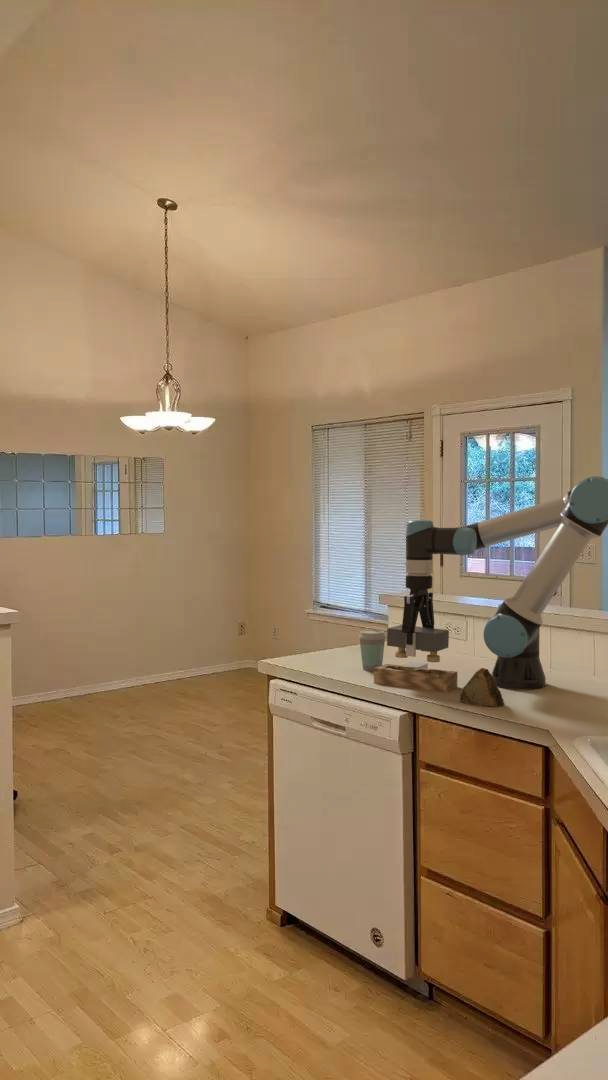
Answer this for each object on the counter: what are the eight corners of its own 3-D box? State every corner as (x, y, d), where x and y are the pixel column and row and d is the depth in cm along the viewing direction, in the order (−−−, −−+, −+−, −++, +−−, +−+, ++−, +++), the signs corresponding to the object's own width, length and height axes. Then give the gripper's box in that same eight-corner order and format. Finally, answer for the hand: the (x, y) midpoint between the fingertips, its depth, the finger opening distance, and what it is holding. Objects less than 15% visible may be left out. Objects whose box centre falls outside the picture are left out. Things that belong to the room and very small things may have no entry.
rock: (447, 693, 223) (471, 695, 214) (461, 665, 226) (485, 666, 217) (476, 715, 226) (500, 718, 217) (490, 687, 229) (514, 689, 220)
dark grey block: (448, 659, 242) (448, 630, 242) (434, 664, 235) (435, 634, 235) (400, 653, 251) (401, 624, 250) (386, 657, 243) (387, 628, 243)
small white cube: (427, 675, 257) (427, 663, 257) (417, 679, 252) (417, 667, 251) (411, 673, 260) (411, 661, 260) (400, 677, 255) (400, 665, 254)
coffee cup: (384, 672, 262) (384, 634, 262) (356, 671, 264) (356, 633, 264) (387, 667, 271) (387, 630, 270) (360, 666, 272) (360, 629, 272)
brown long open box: (457, 687, 241) (457, 671, 240) (445, 692, 234) (445, 676, 234) (386, 678, 253) (386, 663, 253) (373, 683, 247) (373, 668, 246)
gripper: (423, 571, 253) (422, 647, 254) (389, 576, 235) (388, 657, 236) (447, 572, 249) (446, 649, 250) (414, 577, 231) (413, 660, 232)
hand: (418, 653), depth 243 cm, fingers closed on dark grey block, 9 cm apart
